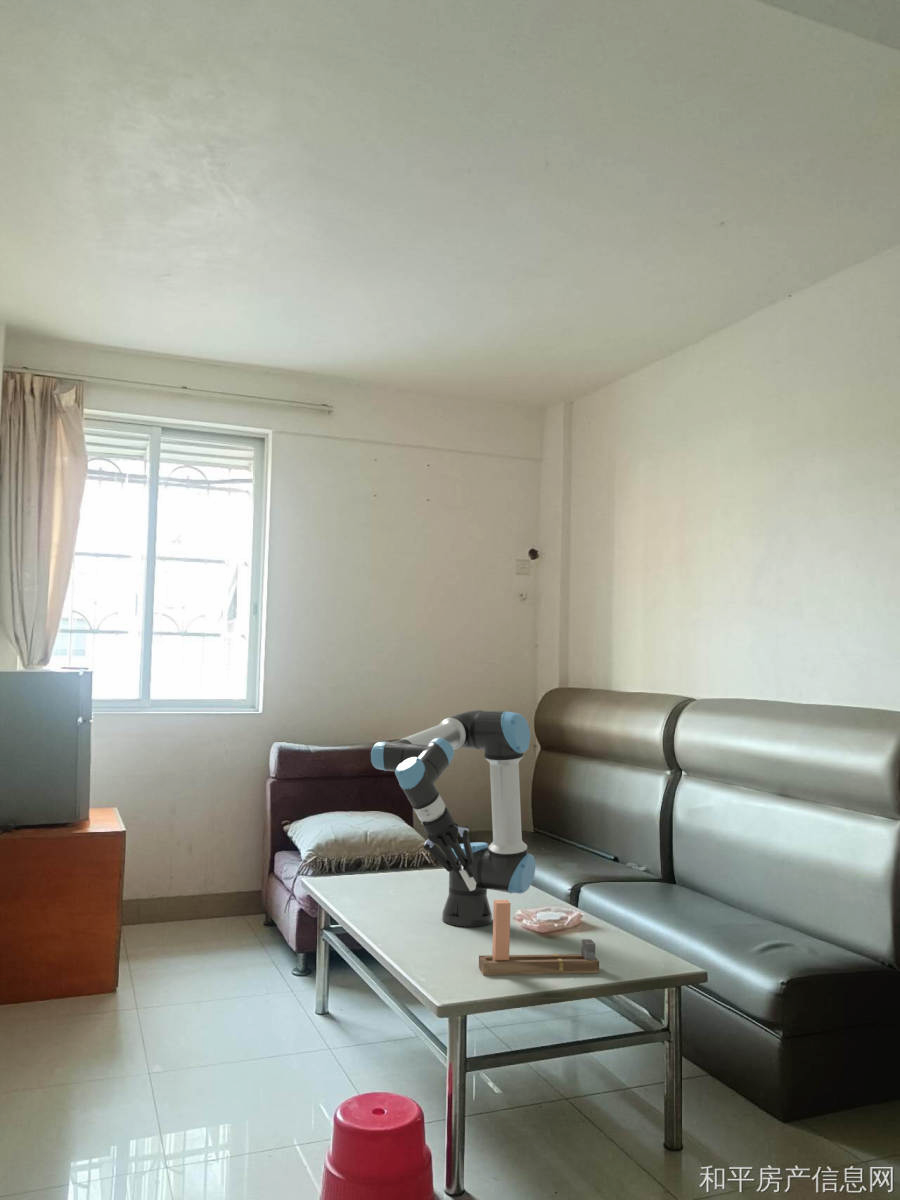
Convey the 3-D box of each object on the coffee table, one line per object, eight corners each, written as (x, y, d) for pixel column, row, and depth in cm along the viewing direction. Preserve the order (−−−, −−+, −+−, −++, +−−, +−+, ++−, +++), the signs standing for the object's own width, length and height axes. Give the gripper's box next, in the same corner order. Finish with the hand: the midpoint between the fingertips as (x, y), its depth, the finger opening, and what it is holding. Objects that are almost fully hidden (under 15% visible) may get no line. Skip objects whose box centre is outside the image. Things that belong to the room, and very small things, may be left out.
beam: (478, 967, 236) (479, 939, 237) (591, 965, 241) (592, 938, 241) (483, 975, 230) (484, 946, 231) (599, 973, 235) (599, 944, 235)
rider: (491, 965, 236) (493, 899, 237) (506, 965, 236) (508, 899, 238) (494, 969, 232) (495, 903, 233) (509, 969, 233) (511, 903, 234)
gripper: (408, 830, 234) (449, 903, 239) (454, 814, 230) (494, 888, 236) (413, 813, 241) (453, 885, 246) (458, 798, 237) (497, 871, 243)
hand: (473, 887), depth 241 cm, fingers closed
